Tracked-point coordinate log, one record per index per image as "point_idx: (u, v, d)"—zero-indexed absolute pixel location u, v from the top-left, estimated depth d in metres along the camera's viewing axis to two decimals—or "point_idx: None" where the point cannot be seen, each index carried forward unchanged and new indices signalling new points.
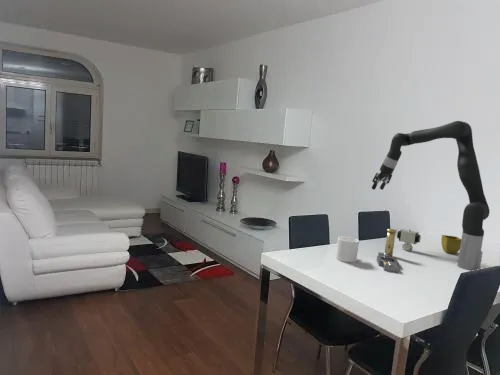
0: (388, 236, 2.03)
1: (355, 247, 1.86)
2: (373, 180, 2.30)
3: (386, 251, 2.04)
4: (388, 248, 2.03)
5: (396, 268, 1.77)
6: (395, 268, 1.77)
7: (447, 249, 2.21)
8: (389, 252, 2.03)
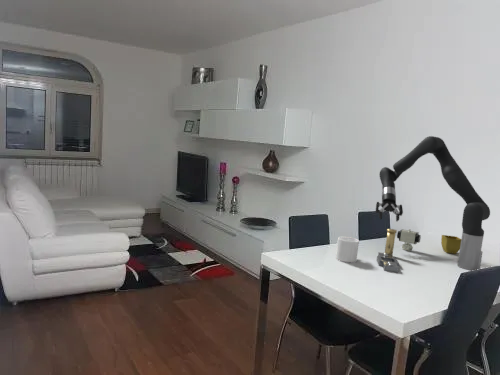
0: (388, 236, 2.03)
1: (355, 247, 1.86)
2: None
3: (386, 251, 2.04)
4: (388, 248, 2.03)
5: (396, 268, 1.77)
6: (395, 268, 1.77)
7: (447, 249, 2.21)
8: (389, 252, 2.03)
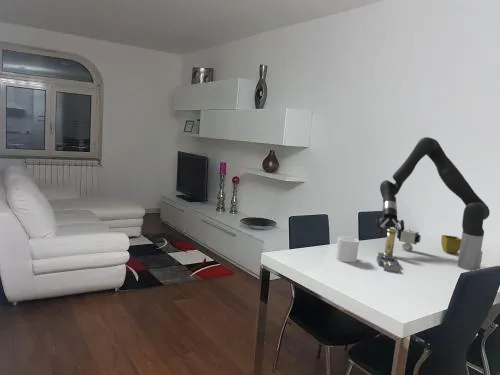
0: (388, 236, 2.03)
1: (355, 247, 1.86)
2: (376, 226, 2.12)
3: (386, 251, 2.04)
4: (388, 248, 2.03)
5: (396, 268, 1.77)
6: (395, 268, 1.77)
7: (447, 249, 2.21)
8: (389, 252, 2.03)
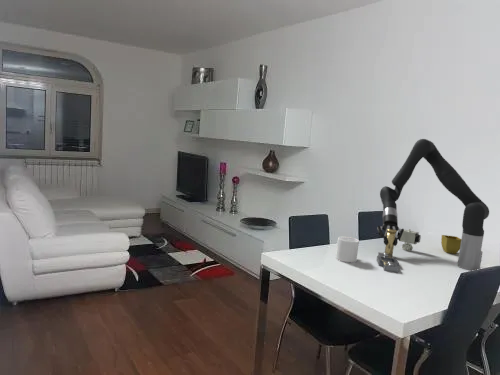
0: (388, 236, 2.03)
1: (355, 247, 1.86)
2: (380, 235, 2.07)
3: (386, 251, 2.04)
4: (388, 248, 2.03)
5: (396, 268, 1.77)
6: (395, 268, 1.77)
7: (447, 249, 2.21)
8: (389, 252, 2.03)
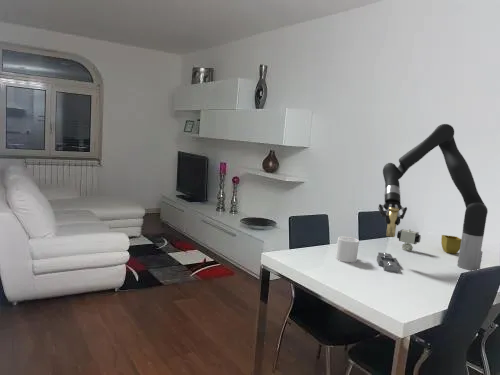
0: (390, 214, 1.89)
1: (355, 247, 1.86)
2: (381, 214, 1.93)
3: (388, 231, 1.90)
4: (390, 227, 1.89)
5: (396, 268, 1.77)
6: (395, 268, 1.77)
7: (447, 249, 2.21)
8: (391, 232, 1.89)
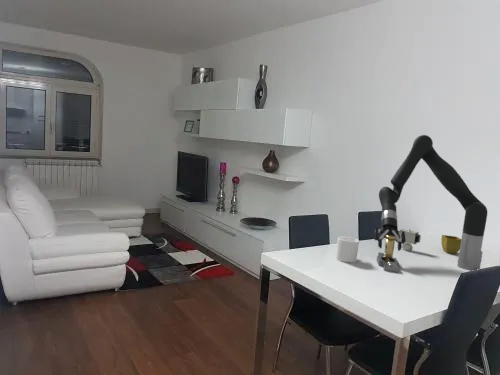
0: (387, 243, 1.87)
1: (355, 247, 1.86)
2: (374, 237, 1.92)
3: (385, 259, 1.88)
4: (387, 256, 1.87)
5: (396, 268, 1.77)
6: (395, 268, 1.77)
7: (447, 249, 2.21)
8: None
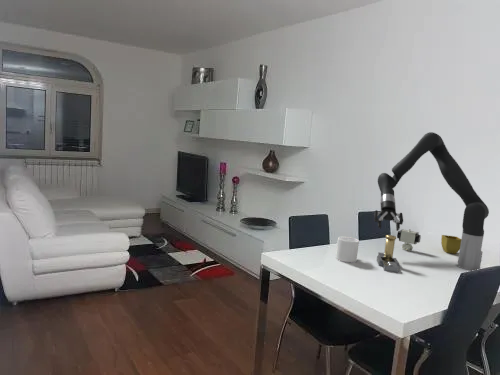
0: (387, 243, 1.87)
1: (355, 247, 1.86)
2: (374, 219, 2.06)
3: (385, 259, 1.88)
4: (387, 256, 1.87)
5: (396, 268, 1.77)
6: (395, 268, 1.77)
7: (447, 249, 2.21)
8: None
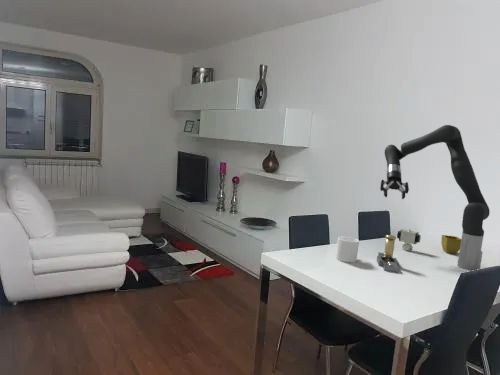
0: (387, 243, 1.87)
1: (355, 247, 1.86)
2: (380, 188, 2.11)
3: (385, 259, 1.88)
4: (387, 256, 1.87)
5: (396, 268, 1.77)
6: (395, 268, 1.77)
7: (447, 249, 2.21)
8: None
